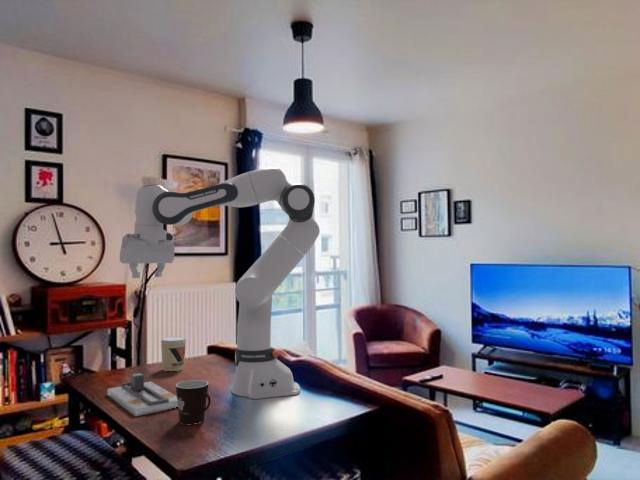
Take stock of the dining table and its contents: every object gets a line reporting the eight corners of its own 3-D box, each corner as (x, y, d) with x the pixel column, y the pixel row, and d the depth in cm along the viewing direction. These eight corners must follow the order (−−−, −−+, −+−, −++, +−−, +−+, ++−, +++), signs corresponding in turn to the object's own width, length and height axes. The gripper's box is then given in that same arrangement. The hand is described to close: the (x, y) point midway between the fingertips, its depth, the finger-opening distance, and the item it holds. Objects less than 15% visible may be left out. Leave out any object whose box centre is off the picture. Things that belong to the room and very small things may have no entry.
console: (107, 394, 157) (107, 385, 157) (150, 387, 165) (150, 378, 166) (135, 416, 136) (135, 405, 137) (183, 406, 145) (183, 396, 145)
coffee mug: (173, 418, 135) (173, 381, 135) (205, 414, 139) (205, 378, 139) (179, 432, 125) (179, 393, 125) (213, 427, 128) (213, 389, 128)
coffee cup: (171, 373, 184) (172, 341, 184) (155, 370, 189) (155, 339, 190) (190, 368, 192) (191, 338, 192) (174, 365, 197) (175, 335, 197)
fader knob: (130, 388, 156) (131, 374, 156) (139, 386, 158) (139, 372, 158) (134, 390, 153) (134, 376, 154) (143, 389, 155) (143, 374, 155)
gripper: (130, 233, 148) (128, 279, 148) (178, 236, 167) (176, 276, 166) (115, 233, 151) (114, 278, 151) (164, 236, 169) (162, 276, 169)
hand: (147, 277), depth 159 cm, fingers open, 8 cm apart
